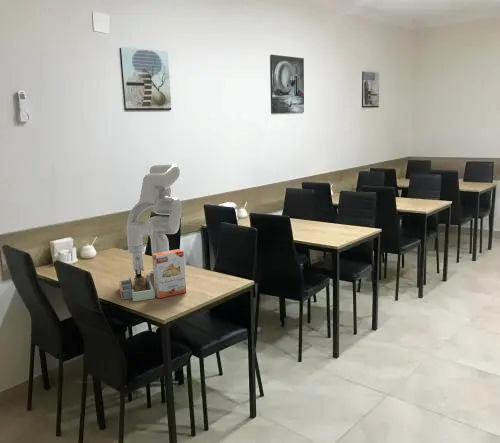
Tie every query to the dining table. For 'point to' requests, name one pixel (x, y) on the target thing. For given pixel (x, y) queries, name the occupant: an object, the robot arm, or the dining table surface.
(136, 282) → the walnut block
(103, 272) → the dining table surface
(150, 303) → the dining table surface
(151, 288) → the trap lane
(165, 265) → the cracker box
